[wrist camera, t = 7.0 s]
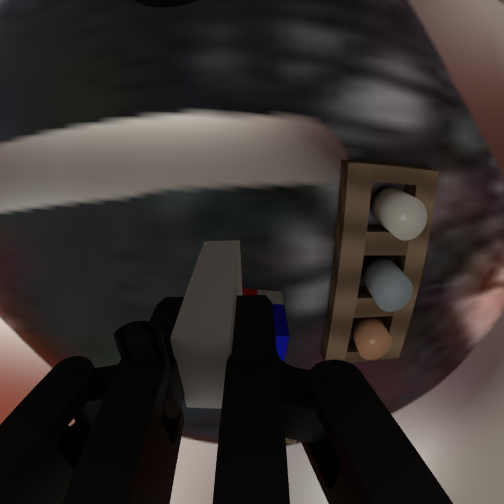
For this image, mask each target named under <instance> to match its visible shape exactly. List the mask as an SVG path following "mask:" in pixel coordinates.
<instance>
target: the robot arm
mask: <svg viewBox="0 0 504 504" xmlns="http://www.w3.org/2000/svg"><path fill="white" fill-rule="evenodd" d="M135 1H137V2H139V3H142V4H145V5H149V6H155V7H171V6H178V5H183V4H187V3H190V2H193V1H196V0H135ZM113 335H114V338H115V341H116V344H117V347H118V350H119V353H120V356H121V360H120V362H119V364H117V365H112V366H106V367H100V368H94V366H93V364H92V362H91V360H89V359H87V358H86V357H82V356H73V357H69V358H66V359H64V360H62V361H60V362H59V363H58V364H57V365H55V366H54V368H53V369H52V370H51V371H50V372H49V373H48V374H47V375H46V376H45V377H44V378H43V379H42V380H41V381H40V382H39V383H38V384H37V385H36V387H35V388H34V389H33V390H32V391H31V392H30V393H29V394H28V395H27V396H26V397H25V398H24V399H23V400H22V402H20V404H19V405H18V406H17V407H16V408H15V409H14V410H13V411H12V412H11V413H10V415H9V416H8V417H7V418H6V419H5V420H4V421H3V422H2V423H1V425H0V504H169V503H170V498H171V492H172V486H173V480H174V474H175V469H176V463H177V458H178V452H179V446H180V441H181V435H182V430H183V425H184V415H183V411H182V404H183V400H184V398H185V402H186V406H187V407H193V408H222V409H221V420H220V430H219V440H218V451H217V461H216V472H215V483H214V484H215V485H214V494H213V495H214V496H213V504H290V498H289V483H288V469H287V455H286V441H285V438H287V439H292V440H297V441H301V442H302V445H303V447H304V450H305V452H306V454H307V456H308V459H309V461H310V463H311V465H312V468H313V470H314V472H315V474H316V476H317V479H318V481H319V483H320V485H321V488H322V490H323V492H324V494H325V496H326V498H327V501H328V503H329V504H453V503H452V502H451V500H450V499H449V497H448V495H447V494H446V493H445V491H444V490H443V488H442V487H441V485H440V484H439V482H438V481H437V479H436V478H435V477H434V475H433V474H432V472H431V471H430V469H429V468H428V466H427V465H426V464H425V462H424V461H423V459H422V458H421V456H420V455H419V454H418V452H417V451H416V449H415V448H414V446H413V445H412V444H411V442H410V441H409V439H408V438H407V436H406V435H405V433H404V432H403V431H402V429H401V428H400V426H399V425H398V424H397V422H396V421H395V419H394V418H393V416H392V415H391V414H390V412H389V411H388V409H387V408H386V407H385V405H384V404H383V402H382V401H381V400H380V398H379V397H378V395H377V394H376V393H375V391H374V390H373V388H372V387H371V386H370V384H369V383H368V381H367V380H366V379H365V377H364V376H363V374H362V373H361V372H360V370H359V369H357V368H356V367H355V366H354V365H353V364H351V363H348V362H346V361H343V360H336V359H333V360H325V361H322V362H320V363H317V364H316V365H315V366H314V367H313V368H312V369H311V370H305V369H300V368H296V367H293V366H290V365H288V364H286V363H285V362H284V361H283V360H281V358H280V357H279V356H278V353H277V350H276V338H275V327H274V316H273V305H272V302H271V301H270V299H269V298H268V297H267V296H266V295H242V276H241V256H240V240H237V241H205V242H204V244H203V247H202V250H201V252H200V255H199V258H198V261H197V263H196V266H195V269H194V272H193V274H192V277H191V280H190V283H189V286H188V288H187V291H186V294H185V297H165V298H164V299H163V300H162V301H161V302H160V303H158V304H157V306H156V308H155V310H154V312H153V315H152V317H151V319H150V322H149V321H134V322H131V323H128V324H125V325H123V326H122V327H120V328H119V329H118V330H117V331H116V332H115V333H114V334H113ZM73 418H74V420H75V423H74V424H73V425H71V426H68V425H69V423H70V422H71V421H72V420H73Z"/></svg>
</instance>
